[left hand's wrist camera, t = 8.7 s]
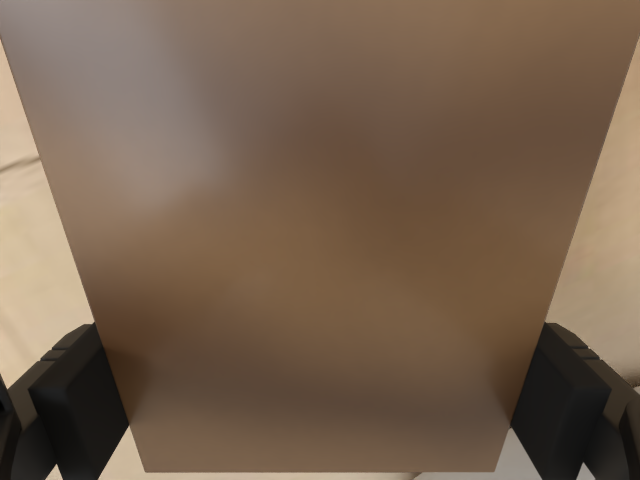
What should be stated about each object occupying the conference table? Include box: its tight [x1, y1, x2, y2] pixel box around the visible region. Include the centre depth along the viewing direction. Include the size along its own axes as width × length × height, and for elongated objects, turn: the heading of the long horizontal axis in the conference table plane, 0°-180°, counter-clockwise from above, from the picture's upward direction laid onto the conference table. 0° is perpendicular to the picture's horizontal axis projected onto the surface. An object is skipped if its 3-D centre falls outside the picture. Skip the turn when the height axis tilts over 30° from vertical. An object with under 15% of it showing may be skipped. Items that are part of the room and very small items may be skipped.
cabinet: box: [0, 0, 640, 472], centre depth 11 cm, size 20×10×12 cm, turn 0°
